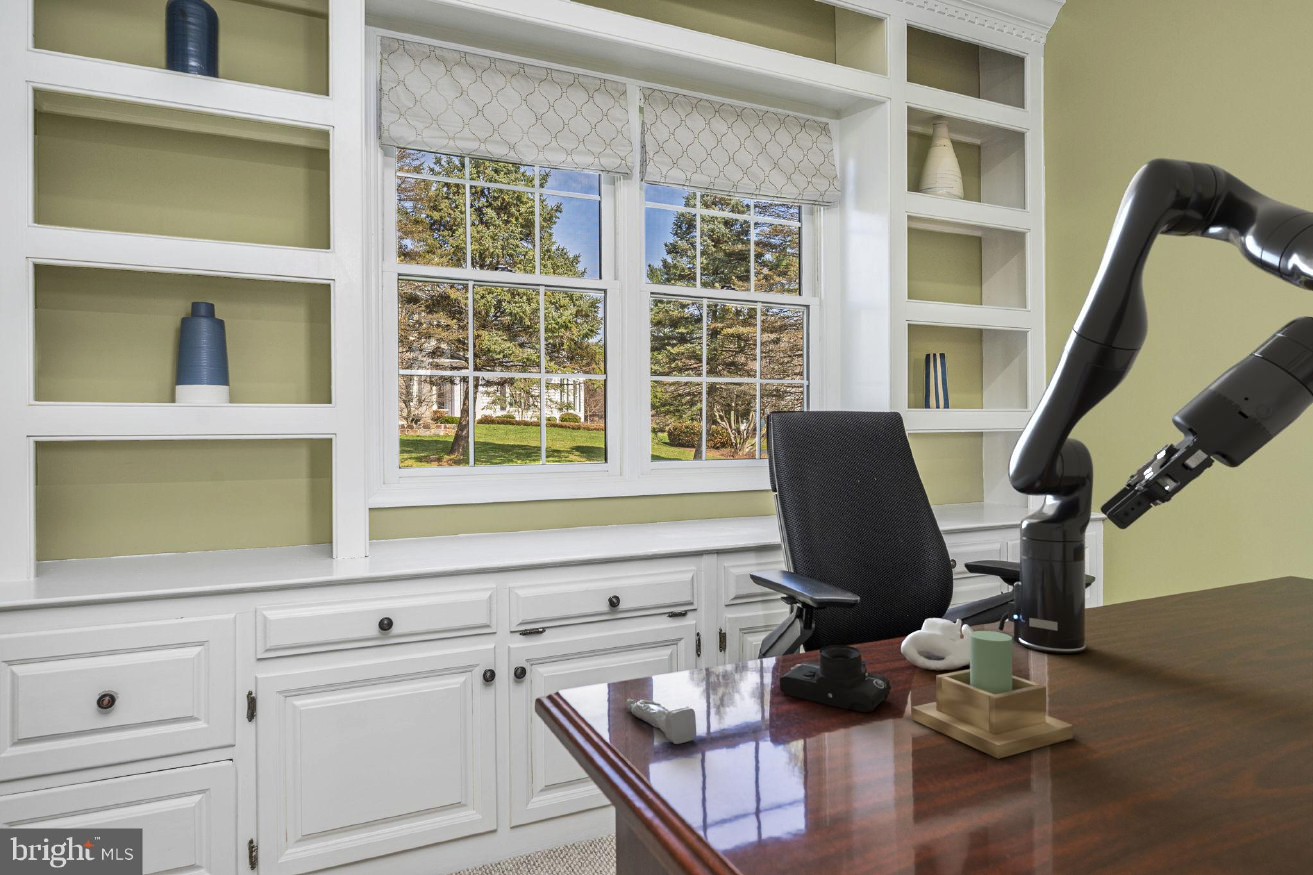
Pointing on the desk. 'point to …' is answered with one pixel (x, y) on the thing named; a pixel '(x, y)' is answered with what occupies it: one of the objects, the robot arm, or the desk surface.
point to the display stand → (992, 716)
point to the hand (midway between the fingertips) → (1109, 519)
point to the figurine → (666, 719)
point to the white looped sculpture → (938, 645)
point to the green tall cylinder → (991, 661)
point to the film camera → (837, 680)
